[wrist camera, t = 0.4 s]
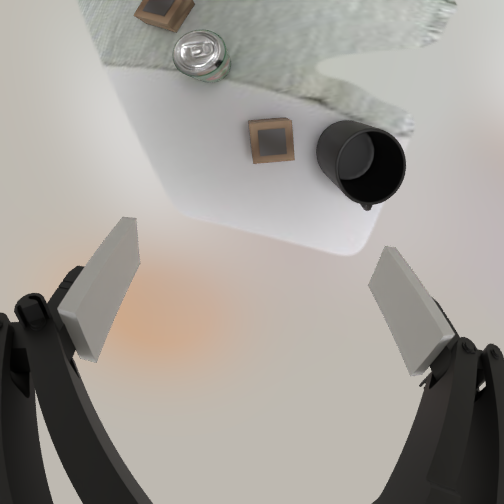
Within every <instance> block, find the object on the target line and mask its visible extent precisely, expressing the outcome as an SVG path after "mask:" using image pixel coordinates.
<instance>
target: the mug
mask: <svg viewBox="0 0 504 504" xmlns="http://www.w3.org/2000/svg"><path fill="white" fill-rule="evenodd" d="M317 159H318V163H319V165H320V167H321V169H322V170H323V172H324V173H325V174H326V175H327V176H328V177H329V178H330V179H331V180H332V181H333V183H334V184H335V185H336V186H337V187H338V188H339V189H340V190H341V191H342V192H343V193H344V194H345V195H346V196H347V197H348V198H349V199H351V200H352V201H354V202H356V203H359V204H361V206H362V207H363V209H364V210H366V211H369V210H371V208H372V205H374V204H378V203H381V202H384V201H386V200H387V199H389V198H390V197H391V196H392V195H393V194H394V193H396V191H397V190H398V189H399V187H400V185H401V183H402V181H403V179H404V176H405V171H406V160H405V155H404V151H403V149H402V147H401V145H400V144H399V142H398V141H397V140H396V139H395V137H393V136H392V135H391V134H390V133H388V132H386V131H384V130H381V129H378V128H375V127H372V126H368V125H365V124H362V123H358V122H355V121H340V122H337V123H334V124H332V125H331V126H329V127H328V128H327V129H326V130H325V131H324V132H323V134H322V135H321V137H320V139H319V142H318V146H317Z"/></svg>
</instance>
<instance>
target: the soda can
mask: <svg viewBox="0 0 504 504" xmlns="http://www.w3.org/2000/svg"><path fill="white" fill-rule="evenodd" d="M173 61H174V64H175V66H176V67H177V69H178V70H179V71H181V72H182V73H184V74H186V75H188V76H191V77H193V78H196V79H198V80H201V81H204V82H216V81H219V80H221V79H223V78H224V77H225V76H226V75H227V74H228V72H229V70H230V67H231V61H230V57H229V55H228V52H227V49H226V46H225V44H224V42H223V40H222V39H221V37H220V36H219V35H217V34H216V33H214V32H212V31H208V30H195V31H192V32H189V33H187V34H185V35H184V36H183V37H181V38H180V39H179V40H178V42H177V43H176V45H175V47H174V50H173Z"/></svg>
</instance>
